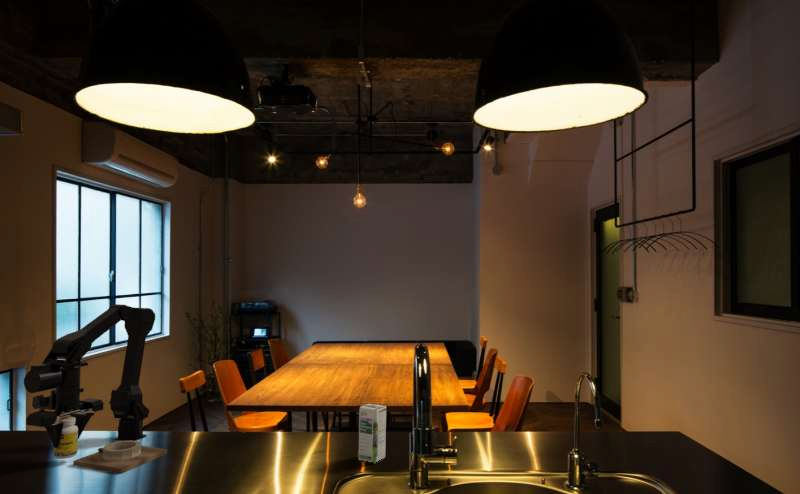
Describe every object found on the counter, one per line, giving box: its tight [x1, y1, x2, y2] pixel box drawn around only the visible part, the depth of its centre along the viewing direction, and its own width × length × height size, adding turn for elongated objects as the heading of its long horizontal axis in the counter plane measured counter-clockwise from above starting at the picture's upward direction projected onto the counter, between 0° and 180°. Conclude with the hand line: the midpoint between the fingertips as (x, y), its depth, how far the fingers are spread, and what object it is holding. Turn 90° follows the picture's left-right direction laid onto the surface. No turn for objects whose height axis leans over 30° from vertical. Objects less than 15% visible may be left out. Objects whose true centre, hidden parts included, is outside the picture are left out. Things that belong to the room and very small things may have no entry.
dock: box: [72, 440, 168, 475], centre depth 149 cm, size 16×16×4 cm
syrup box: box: [357, 403, 387, 464], centre depth 152 cm, size 6×6×14 cm
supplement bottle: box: [53, 416, 79, 460], centre depth 146 cm, size 5×5×10 cm
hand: (65, 444), depth 146 cm, fingers closed on supplement bottle, 5 cm apart
